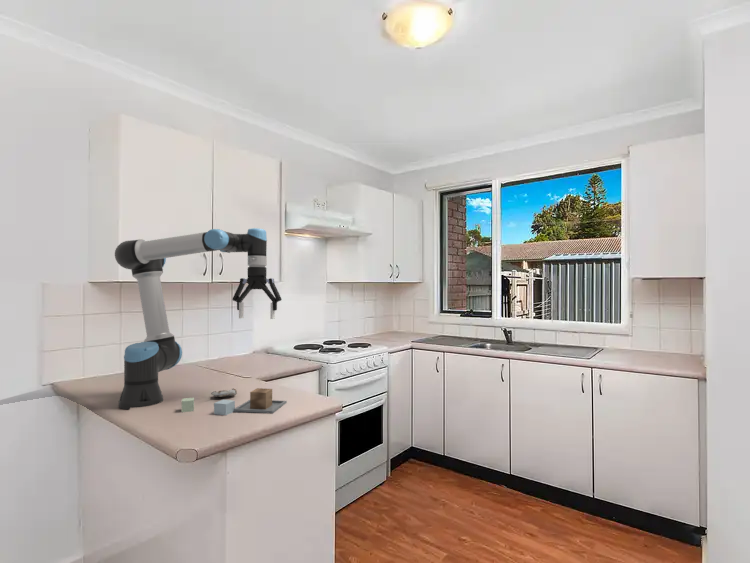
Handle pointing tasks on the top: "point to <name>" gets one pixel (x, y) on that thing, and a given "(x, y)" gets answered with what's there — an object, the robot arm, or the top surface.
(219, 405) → the block bluegrey
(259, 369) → the top surface
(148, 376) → the robot arm
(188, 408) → the block sage
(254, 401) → the block walnut
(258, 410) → the tray
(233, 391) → the stone
